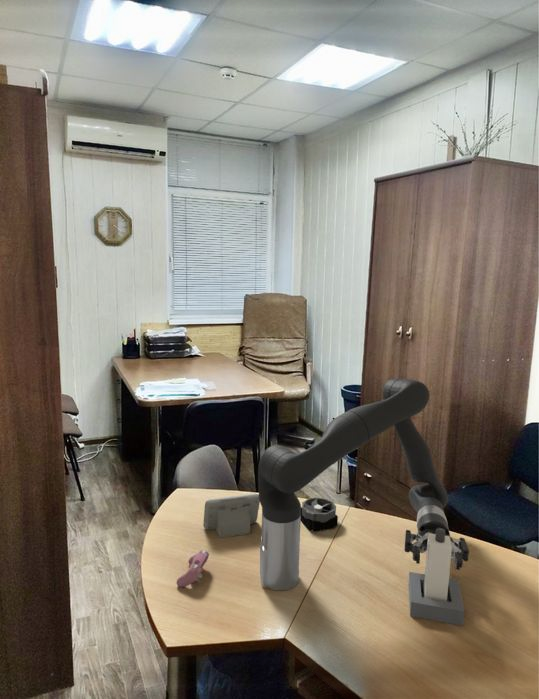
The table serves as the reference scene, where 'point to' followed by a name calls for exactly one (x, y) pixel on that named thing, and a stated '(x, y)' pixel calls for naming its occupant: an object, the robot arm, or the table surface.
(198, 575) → the pink curved piece
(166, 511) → the table surface
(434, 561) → the plug
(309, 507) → the cpu cooler
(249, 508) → the digital clock
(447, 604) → the socket
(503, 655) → the table surface
